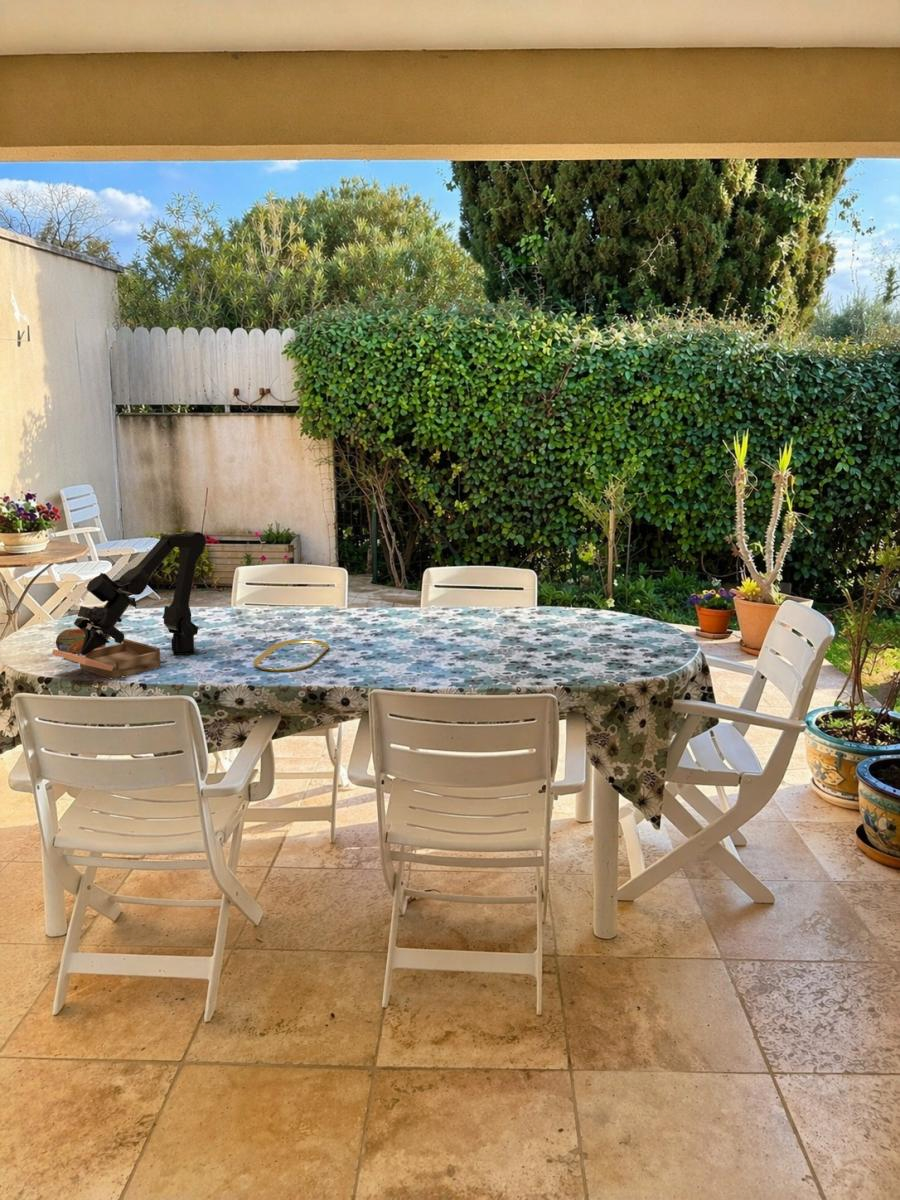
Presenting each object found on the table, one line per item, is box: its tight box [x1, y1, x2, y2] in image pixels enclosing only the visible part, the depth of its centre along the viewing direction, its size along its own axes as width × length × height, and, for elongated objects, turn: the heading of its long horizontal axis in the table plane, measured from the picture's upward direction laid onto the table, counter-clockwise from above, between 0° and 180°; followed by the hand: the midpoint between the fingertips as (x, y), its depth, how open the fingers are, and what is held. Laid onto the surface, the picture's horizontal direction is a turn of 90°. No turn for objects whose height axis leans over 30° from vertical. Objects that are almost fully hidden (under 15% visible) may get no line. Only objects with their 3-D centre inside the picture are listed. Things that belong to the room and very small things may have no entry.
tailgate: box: [51, 648, 113, 671], centre depth 268 cm, size 2×18×9 cm
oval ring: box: [252, 638, 330, 673], centre depth 291 cm, size 19×35×2 cm, turn 172°
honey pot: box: [76, 583, 118, 639], centre depth 314 cm, size 13×13×18 cm
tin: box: [55, 628, 107, 654], centre depth 293 cm, size 15×3×8 cm, turn 105°
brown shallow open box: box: [79, 638, 162, 680], centre depth 278 cm, size 16×18×6 cm
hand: (82, 654), depth 268 cm, fingers closed
